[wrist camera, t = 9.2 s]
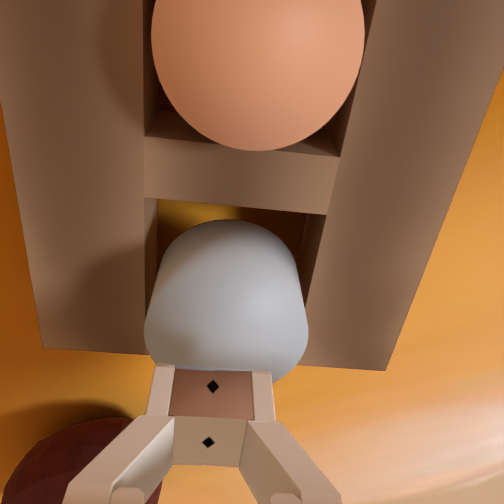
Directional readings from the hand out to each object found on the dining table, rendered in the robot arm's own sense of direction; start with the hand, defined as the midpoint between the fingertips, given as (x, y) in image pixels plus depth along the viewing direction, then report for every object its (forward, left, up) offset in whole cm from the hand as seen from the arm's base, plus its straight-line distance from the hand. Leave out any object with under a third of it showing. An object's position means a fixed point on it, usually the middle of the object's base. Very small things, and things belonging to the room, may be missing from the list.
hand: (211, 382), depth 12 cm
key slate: (0, 0, -5) cm, 5 cm away
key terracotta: (0, -8, -6) cm, 10 cm away
